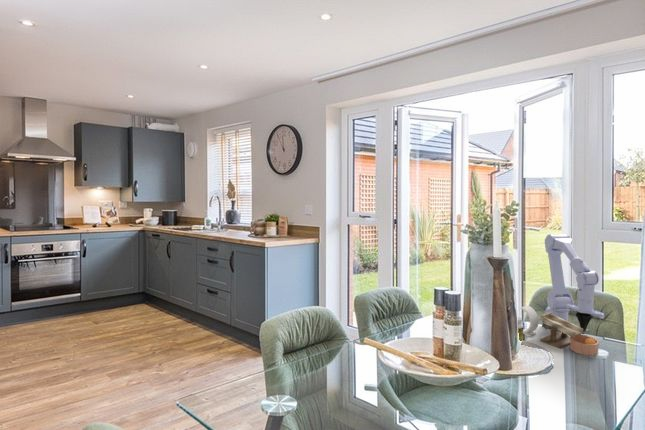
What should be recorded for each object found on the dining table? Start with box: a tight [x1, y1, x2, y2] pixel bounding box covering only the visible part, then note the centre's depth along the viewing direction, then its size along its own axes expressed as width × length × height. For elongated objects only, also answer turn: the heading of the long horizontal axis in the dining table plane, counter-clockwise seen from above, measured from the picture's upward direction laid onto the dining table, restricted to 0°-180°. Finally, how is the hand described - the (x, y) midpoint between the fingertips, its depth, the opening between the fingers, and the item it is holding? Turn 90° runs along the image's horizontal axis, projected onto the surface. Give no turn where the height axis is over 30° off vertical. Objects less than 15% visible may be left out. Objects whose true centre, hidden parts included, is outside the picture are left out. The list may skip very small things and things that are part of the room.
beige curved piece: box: [539, 312, 590, 338], centre depth 193 cm, size 16×12×6 cm
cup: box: [569, 334, 600, 356], centre depth 184 cm, size 10×10×4 cm
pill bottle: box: [517, 316, 524, 342], centre depth 191 cm, size 6×6×11 cm
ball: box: [584, 338, 596, 344], centre depth 182 cm, size 4×4×4 cm
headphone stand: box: [520, 305, 540, 337], centre depth 200 cm, size 5×6×12 cm
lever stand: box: [540, 326, 570, 349], centre depth 192 cm, size 9×13×8 cm
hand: (583, 329), depth 189 cm, fingers closed, pressing on beige curved piece
